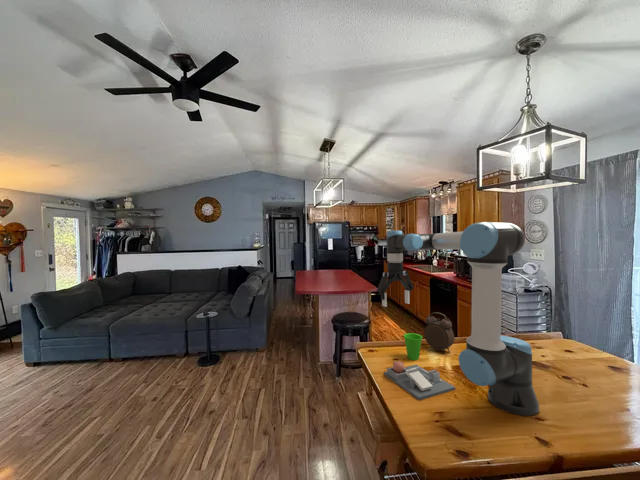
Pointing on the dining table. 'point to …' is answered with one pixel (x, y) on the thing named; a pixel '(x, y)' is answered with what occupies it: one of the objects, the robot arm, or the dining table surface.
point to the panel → (412, 388)
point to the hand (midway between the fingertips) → (396, 304)
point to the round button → (398, 367)
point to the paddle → (419, 379)
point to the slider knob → (434, 376)
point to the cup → (413, 345)
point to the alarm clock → (438, 332)
